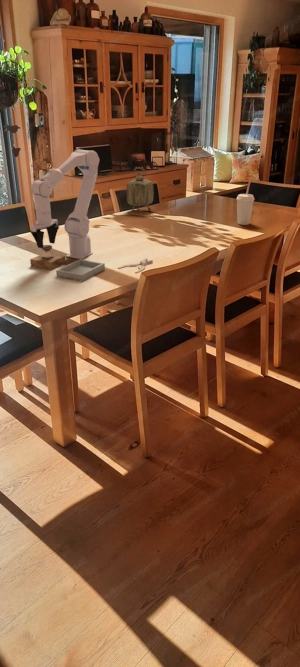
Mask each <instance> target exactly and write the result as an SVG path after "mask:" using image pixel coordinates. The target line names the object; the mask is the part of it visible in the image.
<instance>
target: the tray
mask: <svg viewBox="0 0 300 667" xmlns="http://www.w3.org/2000/svg"><path fill="white" fill-rule="evenodd" d="M104 270H106V265H105V263H104V262H98V261H93V260H86V259H83V258H82V259H77V260H75V261H73V262H71V263H69V264H66V265H64V266H62V267H60V268H58V269H56V270H55V271H56V277H57V278H62V279H68V280H72V281H73V280H74V281H77V282H84V281H86V280H88V279H89V278H92V277H93V276H96V275H97V274H99V273H101V272H103V271H104Z"/></svg>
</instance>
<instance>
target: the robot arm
mask: <svg viewBox="0 0 300 667" xmlns="http://www.w3.org/2000/svg"><path fill="white" fill-rule="evenodd" d="M99 164H100V157H99V155H98V153H97V152H96V151H95V150H87V149H86V150H85V149H80V148H77V149H74V151H73V152H71V153H70V156H69V157H68V158H67V159H66V160H65V161H64V162H63V163H62V164H61V165H60V166H59V167H58V168H50V169H49V170H48V172H47V173H46V174H45V175H43V176H41V177H40V178H39V179H36V180H34V181H33V182H32V184H31V187H30V188H29V189H30V192H31V193H32V194H33V199H34V206H35V216H36V222H34V223H35V224H33V225H31V226H30V234H31V235H32V237H33V238H34V240H35V243H36V246H37V248H39V249H41V248H43V245H44V236H45V231H42V230H43V229H46V232H47V235H48V242H49V244H55V243H56V236H57V233H58V231H59V228H60V226H59V224H58V223H59V222H58V218H57V219H56V218H55V219H54V218H52V211H51V201H50V200H51V198H50V196H52V193H53V190H54V189H55V187H57V186H58V185H59V184H60V183H62V181H63V179H64V176H65V175H66V174H68V173H70V172H71V171H72V170H74V169H75V168H76V167H77V168H78V169H79V170H80V172H81V173H82V175H83V176H82V179H81V180H82V181H81V184H80V188H79V190H78V195H77V198H76V202H75V205H74V209H73V211H72V212H71V213H70V214H69V215H68V217H67V219H66V221H65V222H64V231H65V232H66V234H67V236H68V242H69V243H68V244H69V253H68V254H66V255H65V258H71V259H77V260H79V259H82V260H83V259H84V258H86V257H89V256H90V255H93V252H92V245H91V237H90V236H89V232H90V219H89V218H88V212H89V206H90V203H91V200H92V196H93V192H94V189H95V185H96V181H97V179H98V167H99Z"/></svg>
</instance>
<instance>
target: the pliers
mask: <svg viewBox="0 0 300 667" xmlns="http://www.w3.org/2000/svg"><path fill="white" fill-rule="evenodd" d="M153 260H154V259H150V260H148V258H147V257H146V258H143V259H142V260H139V262H138V263H128V264H124V265H122V266H119V267H117V269H118V270H119V269H123V268H129V267H130V268H131V267H132V268H135V267H137V266H138V270H137V271H135V272H134V273H135V274H139V273H140V272H142V271H144V270H145V269H146V267H145V266H148V265H150V264H152V263H154V261H153Z"/></svg>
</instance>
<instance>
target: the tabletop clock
mask: <svg viewBox="0 0 300 667" xmlns="http://www.w3.org/2000/svg"><path fill="white" fill-rule="evenodd" d="M137 169H138V170H142V171H143V173H141V172H138V173H137V172H136V170H137ZM133 173H134V174H135V175H136V176H135V179H133V180H130V181H128V182H127V183H126V193H125V194H126V201H127V202H126V203H127V204H128V205H130V206H132V207H131V209H132V210H134V209H135V207H137V209H136V212H137V213H139V212H140V207H147V210H148V211H152V210H151V207H150V206H149V205H151V204H153V201H154V195H155V194H154V193H155V192H154V190H155V189H154V183H153V181H151V180H149V179H145V178H144V177H143V175H145V173H146V170H145V169H144V168H143V167H140V166H138V167H134V169H133Z"/></svg>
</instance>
